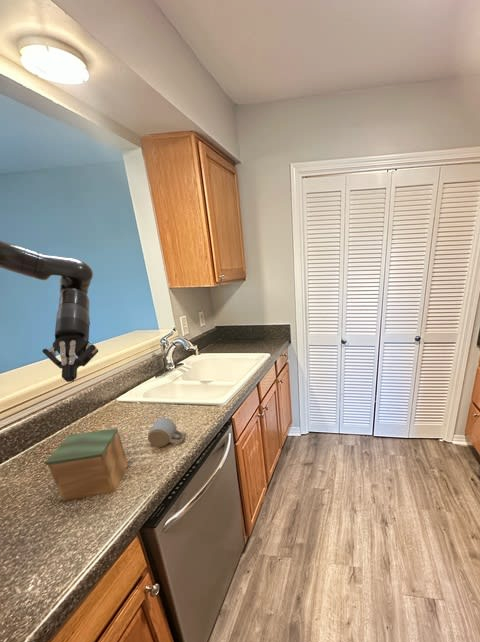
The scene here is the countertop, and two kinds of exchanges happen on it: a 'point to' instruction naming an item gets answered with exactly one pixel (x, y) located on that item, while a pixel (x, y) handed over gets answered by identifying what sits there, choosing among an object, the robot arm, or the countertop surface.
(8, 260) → the robot arm
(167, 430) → the ceramic mug
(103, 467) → the chest
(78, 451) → the lid
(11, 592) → the countertop surface
